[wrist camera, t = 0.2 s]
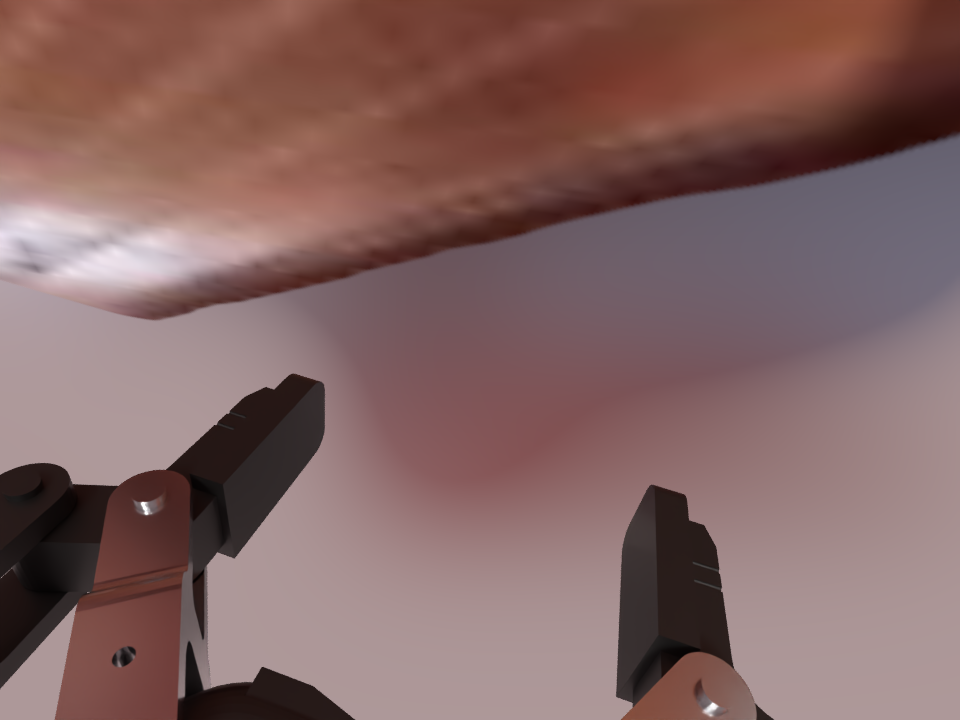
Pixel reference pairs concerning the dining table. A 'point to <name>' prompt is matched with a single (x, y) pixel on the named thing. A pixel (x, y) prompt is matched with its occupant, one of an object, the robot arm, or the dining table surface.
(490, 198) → the dining table surface
